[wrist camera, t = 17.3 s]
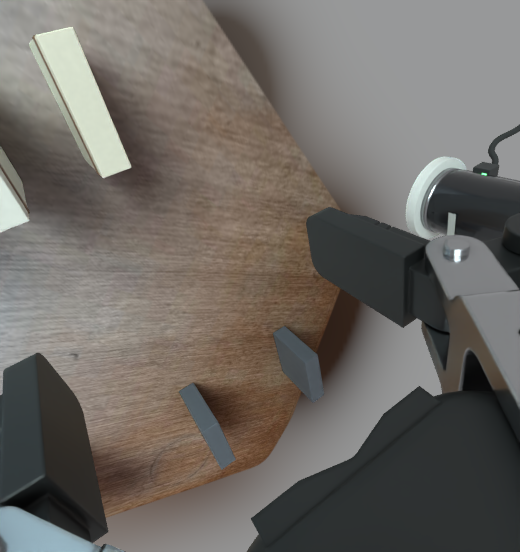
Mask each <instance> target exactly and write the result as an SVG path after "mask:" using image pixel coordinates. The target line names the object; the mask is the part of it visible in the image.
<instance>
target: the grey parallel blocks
mask: <svg viewBox="0 0 520 552" xmlns="http://www.w3.org/2000/svg"><path fill="white" fill-rule="evenodd" d="M273 335H274V339H275V343H276V347H277V351H278V355H279V359H280V362H281V366H282V370H283V372H284V373H285V374H286V375H287V376H288V377H289V378H290V380H291V381H292V382H293V383H294V384H295V385H296V386H297V387H298V388H299V389H300V390H301V391H302V392H303V393H304V394H305V395H306V396H307V397H308V398H309V399H310V400H311V402H315V401H316V400H318V399H319V398H320V397H322V396H323V395H324V391H323V385H322V379H321V373H320V367H319V361H318V355H317V354H316V353H315V352H314V351H313V350H311V349H310V348H309V347H308V346H307V345H306V344H305V343H303V342H302V341H301V340H300V339H299V338H298V337H297V336H295V335H294V334H293V333H292V332H291V331H290V330H289V329H288V328H286V327H285V326H284V327H282V328H280V329H279V330H277V331H276V332H274V333H273ZM179 393H180V395H181V397H182V399H183V400H184V402H185V404H186V406H187V408H188V410H189V412H190V414H191V415H192V417H193V419H194V421H195V423H196V425H197V427H198V428H199V430H200V432H201V434H202V436H203V437H204V439H205V441H206V443H207V445H208V446H209V448H210V450H211V452H212V453H213V455H214V457H215V459H216V461H217V462H218V464H219V466H220V468H221V469H223V468H225V467H226V466H227V465H229V464H230V463H231V462H233V461H234V460H235V457H234V455H233V452H232V450H231V448H230V446H229V444H228V442H227V440H226V438H225V436H224V433H223V431H222V429H221V427H220V425H219V423H218V421H217V419H216V418H215V416H214V415H213V413H212V412H211V410H210V408H209V407H208V405H207V404H206V402H205V400H204V399H203V397H202V396H201V394H200V392H199V391H198V389H197V388H196V386H195V384H194V383H192V384H190V385H188V386H187V387H185V388H184V389H182V390H180V391H179Z"/></svg>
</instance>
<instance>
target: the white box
mask: <svg viewBox="0 0 520 552" xmlns="http://www.w3.org/2000/svg"><path fill="white" fill-rule="evenodd" d="M29 213H30V212H29V209H28V207H27V204H26V199H25V194H24V189H23V183H22V180H21V179H20V177H19V175H18V174H17V172H16V171H15V169H14V167H13V166H12V164H11V162H10V161H9V159H8V157H7V156H6V154H5V152H4V151H3V149H2V148H1V146H0V233H1V232H3V231H6V230H8V229H11V228H13V227H16V226H19V225H21V224H24V223H26V222H29V221H30V220H29Z"/></svg>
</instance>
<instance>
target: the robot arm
mask: <svg viewBox="0 0 520 552" xmlns="http://www.w3.org/2000/svg"><path fill="white" fill-rule="evenodd" d="M519 131H520V125H519V126H517V127H516V128H514V129H512V130H510V131H508V132H506V133H504V134H502V135H500V136H498V137H497V138H496V139H494V141H493V142H492V143H491V145H490V146H489V149H488V153H489V156H490V157H491V159H492V164H491V163H485V162H482V163H480V164H479V165H477V166H475V167H474V168H473V171H468V170H462V169H458V168H447V169H445V170H443V171H442V172H440V173H439V174H438V175H437V176H436V177H435V178H434V180H433V181H432V182H431V184H430V185H429V187H428V189H427V191H426V193H425V195H424V198H423V201H422V205H421V211H420V218H421V223H422V225H423V227H424V228H425V229H426V230H429V231H432V232H435V233H439V234H442V235H445V236H442V237H438V238H436V239H434V240H432V241H429V240H426V239H424V238H421V237H419V236H416V235H414V234H410V233H408V232H406V231H403V230H400V229H398V228H395V227H392V228H391V226H390V225H387V224H385V223H380V222H379V221H377V220H374V219H372V218H369V217H367V216H360V215H350V214H347V213H344V212H342V211H339V210H337V209H334V208H331V207H328V208H326V209H324V210H322V211H320V212H318V213H316V214H314V215H312V216H310V217H309V218H308V219H307V222H306V225H307V232H308V238H309V245H310V251H311V257H312V262H313V265H314V267H315V269H316V270H317V272H318V273H319V274H320V275H321V276H322V277H324V278H325V279H327V280H328V281H330V282H331V283H333V284H335V285H336V286H338V287H339V288H341V289H343V290H344V291H346V292H347V293H349V294H350V295H352V296H354V297H355V298H357V299H358V300H360V301H362V302H363V303H365V304H366V305H368V306H370V307H371V308H373V309H374V310H376V311H377V312H379V313H381V314H382V315H384V316H385V317H387V318H389V319H390V320H392V321H393V322H395V323H396V324H398V325H400V326H401V327H403V328H404V327H405V326H406V325H408V324H409V323H411V322H412V321H414V320H415V319H416V318H418V319H420V320H421V321H422V328H421V329H422V332H423V335H424V338H425V341H426V344H427V346H428V349H429V352H430V355H431V358H432V360H433V363H434V366H435V369H436V371H437V374H438V377H439V380H440V383H441V388H442V394H441V395H437V396H434V397H433V396H432V395H431V394H429V393H428V392H427V391H425V390H424V389H422V388H421V387H420V386H419V387H417V388H416V389H415V390H414V391H412V392H411V393H410V394H409V395H407V396H406V397H405V398H403V399H402V400H401V401H400V402H398V403H397V404H396V405H395V406H393V407H392V408H391V409H390V410H388V411H387V412H386V413H384V414H383V416H382V417H381V419H380V420H379V422H378V423H377V425H376V426H375V427H374V429H373V430H372V432H371V433H370V435H369V436H368V438H367V439H366V441H365V442H364V443H363V445H362V446H361V448H360V449H359V451H358V452H357V454H356V455H355V456H354V457H352V458H351V459H349V460H347V461H345V462H342V463H340V464H337V465H335V466H333V467H330V468H328V469H326V470H323V471H321V472H319V473H316V474H314V475H312V476H310V477H307V478H305V479H302V480H300V481H298V482H297V483H296V484H294V485H293V486H292V487H290V488H289V489H288V490H287V491H285V492H284V493H283V494H282V495H280V496H279V497H278V498H276V499H275V500H274V501H273V502H271V503H270V504H269V505H268V506H266V507H265V508H264V509H262V510H261V511H260V512H259V513H257V514H256V515H255V516H254V517H252V518H251V520H252V522H253V524H254V526H255V527H256V529H257V531H258V533H259V535H258V536H257V537H256V539H255V540H254V542H253V543H252V544H251V546H250V547H249V549H248V551H247V552H520V181H518V180H512V179H508V178H503V177H498V176H497V175H498V170H499V165H498V156H497V154H496V153H495V151H494V150H495V147H496V145H497V144H498V143H499V142H500V141H502V140H504V139H505V138H508V137H510V136H512V135H514V134H516V133H517V132H519ZM107 532H108V528H107V523H106V518H105V513H104V509H103V504H102V499H101V494H100V490H99V485H98V480H97V476H96V471H95V466H94V461H93V457H92V452H91V447H90V443H89V438H88V433H87V428H86V424H85V419H84V414H83V411H82V408H81V406H80V404H79V402H78V400H77V398H76V396H75V395H74V393H73V392H72V390H71V389H70V388H69V387H68V385H67V384H66V383H65V382H64V381H63V379H62V378H61V377H60V376H59V374H58V373H57V372H56V371H55V369H54V368H53V367H52V366H51V364H50V363H49V362H48V361H47V359H46V358H45V357H44V356H43V355H42V354H40V353H36V354H34V355H32V356H30V357H28V358H26V359H24V360H22V361H20V362H18V363H16V364H14V365H12V366H10V367H8V368H6V369H5V370H4V373H3V394H2V395H0V552H125V551H123V550H121V549H118V548H116V547H114V546H111V545H107V544H104V545H103V546H102V547H100V546H97V545H95V544H93V542H95V541H96V540H97V539H99V538H100V537H102V536H103V535H104V534H106V533H107Z"/></svg>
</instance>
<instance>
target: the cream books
mask: <svg viewBox="0 0 520 552" xmlns="http://www.w3.org/2000/svg"><path fill="white" fill-rule="evenodd" d="M32 38H33V40H32V41H31V42H30V43H29V46H30V48H31V50H32V53H33V55H34V57H35V59H36V61H37V63H38V65H39V67H40V69H41V71H42V73H43V75H44V77H45V79H46V81H47V83H48V85H49V87H50V89H51V91H52V94H53V96H54V98H55V100H56V102H57V104H58V106H59V108H60V110H61V112H62V114H63V116H64V118H65V120H66V122H67V124H68V126H69V128H70V130H71V133H72V135H73V137H74V139H75V141H76V143H77V145H78V147H79V149H80V151H81V153H82V155H83V157H84V159H85V160H86V161H87V162H88V163H89V164H90V165H91V166H92V167H93V168H94V169H95V170H96V172H97V174H98V175H99V176H102V177H103V178H106V177H108V176H111V175H114V174H116V173H119V172H122V171H124V170H127V169H130V168H131V164H130V162H129V159H128V157H127V155H126V152H125V150H124V147H123V145H122V143H121V140H120V138H119V135H118V133H117V131H116V128H115V126H114V123H113V121H112V119H111V116H110V114H109V111H108V109H107V107H106V104H105V102H104V99H103V97H102V95H101V92H100V90H99V87H98V85H97V83H96V80H95V78H94V76H93V73H92V71H91V68H90V66H89V64H88V61H87V59H86V56H85V54H84V52H83V49H82V47H81V44H80V42H79V40H78V37H77V35H76V32H75V30H74V28H73V27H69V28H64V29H60V30H55V31H51V32H47V33H42V34H38V35H34V36H33V37H32Z"/></svg>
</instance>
